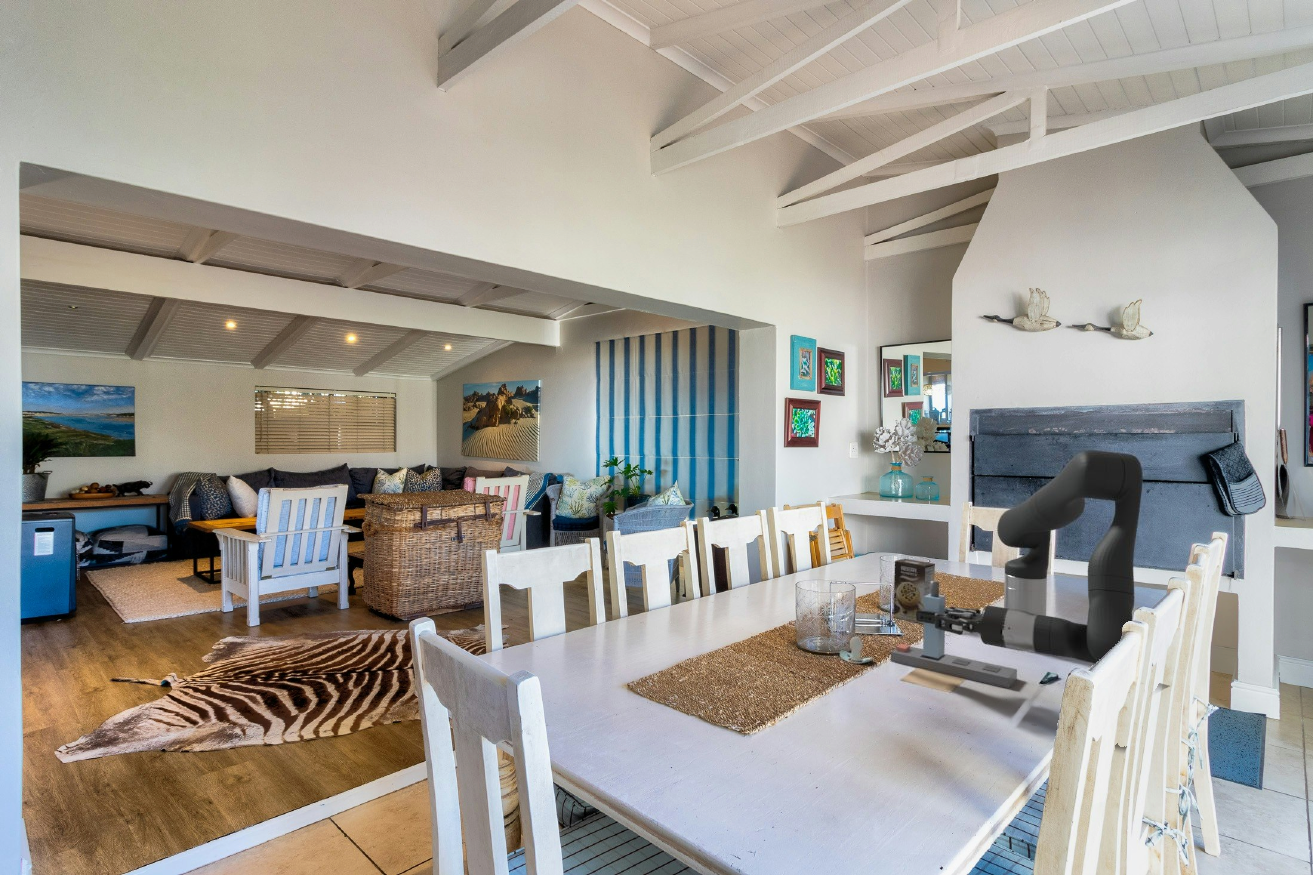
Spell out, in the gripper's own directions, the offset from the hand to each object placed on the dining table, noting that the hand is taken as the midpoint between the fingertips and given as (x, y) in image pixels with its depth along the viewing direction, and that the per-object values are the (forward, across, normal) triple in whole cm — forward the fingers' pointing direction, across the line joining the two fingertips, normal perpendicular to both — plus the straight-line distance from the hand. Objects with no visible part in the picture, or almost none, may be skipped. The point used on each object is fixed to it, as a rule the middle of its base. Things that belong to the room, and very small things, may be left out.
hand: (920, 613), depth 143 cm
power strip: (-4, -9, +14) cm, 17 cm away
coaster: (-3, 0, +14) cm, 15 cm away
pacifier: (+15, 0, +14) cm, 21 cm away
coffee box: (+18, -48, +14) cm, 53 cm away
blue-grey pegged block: (-3, 0, +8) cm, 8 cm away
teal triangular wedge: (-14, -21, +15) cm, 29 cm away
